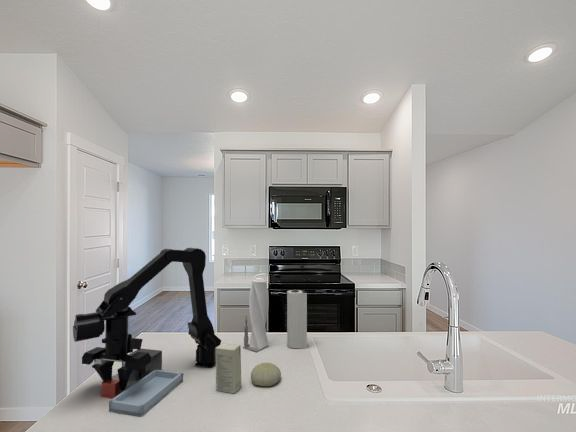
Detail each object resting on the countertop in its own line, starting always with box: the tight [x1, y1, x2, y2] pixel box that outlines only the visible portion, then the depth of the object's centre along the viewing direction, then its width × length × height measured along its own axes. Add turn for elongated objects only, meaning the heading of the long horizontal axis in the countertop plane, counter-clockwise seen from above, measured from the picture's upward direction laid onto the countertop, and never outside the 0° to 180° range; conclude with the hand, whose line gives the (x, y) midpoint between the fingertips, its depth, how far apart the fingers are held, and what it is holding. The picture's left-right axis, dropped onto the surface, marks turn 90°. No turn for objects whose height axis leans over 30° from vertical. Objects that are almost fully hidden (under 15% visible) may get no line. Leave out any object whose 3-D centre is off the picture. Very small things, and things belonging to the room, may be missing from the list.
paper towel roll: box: [286, 289, 308, 349], centre depth 126 cm, size 7×6×21 cm
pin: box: [100, 369, 141, 400], centre depth 96 cm, size 4×15×4 cm, turn 166°
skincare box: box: [215, 342, 242, 394], centre depth 94 cm, size 6×4×12 cm
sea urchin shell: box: [250, 362, 282, 387], centre depth 98 cm, size 9×8×8 cm
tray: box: [108, 369, 184, 417], centre depth 90 cm, size 10×19×2 cm, turn 166°
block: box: [121, 348, 163, 379], centre depth 102 cm, size 8×8×6 cm
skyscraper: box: [242, 273, 270, 353], centre depth 126 cm, size 8×8×28 cm
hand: (116, 388), depth 92 cm, fingers closed on pin, 4 cm apart
